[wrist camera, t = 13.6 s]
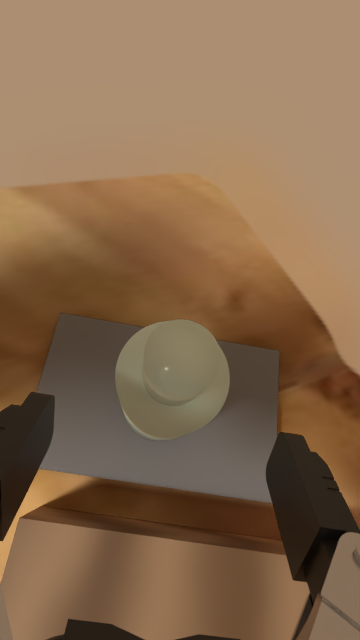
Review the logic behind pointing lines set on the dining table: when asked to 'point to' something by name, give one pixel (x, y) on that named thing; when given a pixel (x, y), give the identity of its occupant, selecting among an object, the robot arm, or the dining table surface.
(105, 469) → the charcoal mat
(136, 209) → the dining table surface
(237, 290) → the dining table surface
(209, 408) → the celadon bottle
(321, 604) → the robot arm
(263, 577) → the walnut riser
